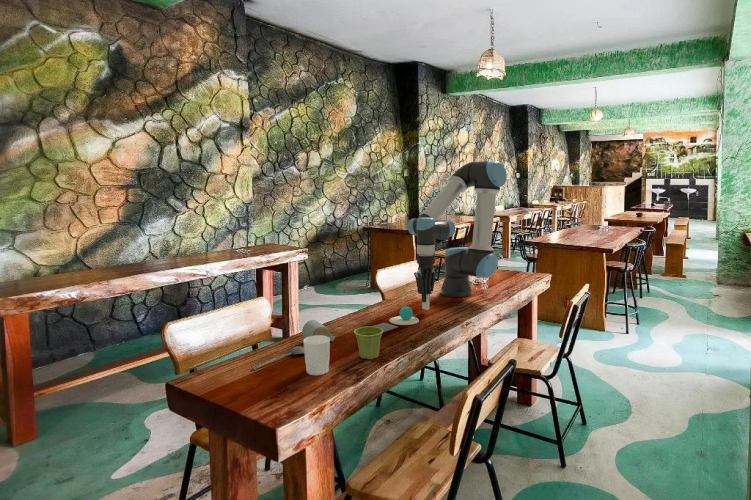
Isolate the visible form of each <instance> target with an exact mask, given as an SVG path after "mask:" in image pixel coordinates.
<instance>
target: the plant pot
mask: <svg viewBox="0 0 751 500" xmlns="http://www.w3.org/2000/svg"><path fill="white" fill-rule="evenodd" d="M353 333H354V335H355V338H356V341H357V346H358V352H359V353H358V354H359V357H360V358H361V359H363V358H364V360H365V359H367V360H375V359H377V358H378V357H379V356H380V345H381V338H382V336H383V335H382V334H383V333H384V332H383V330H382V329H381V328H378V327H372V326H362V327H361V326H360V327H358V328H355V329H354V330H353ZM374 358H375V359H374Z"/></svg>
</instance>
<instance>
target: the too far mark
mask: <svg viewBox="0 0 751 500" xmlns="http://www.w3.org/2000/svg"><path fill="white" fill-rule="evenodd" d="M371 327H378V328H381V329H382V330H383V333H386V332H389V331H392V330H394V329H397V328H399V325H398V326H397V325H395V324H392V323H387V322H381V323H378V324H375V325H372V326H371Z"/></svg>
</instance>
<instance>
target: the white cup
mask: <svg viewBox="0 0 751 500" xmlns="http://www.w3.org/2000/svg"><path fill="white" fill-rule="evenodd" d="M302 343H303V347H304V353H303V355H304V361H305V370H306V373H307V374H308V375H310V376H322V375H325V373H326V374H327V373H329V369H330V351H331V349H330V348H331V345H330V344H331V341H330V338H329V337H327V336H322V335H315V336H310V337H307V338H304V339H303V341H302Z"/></svg>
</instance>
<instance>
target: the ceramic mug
mask: <svg viewBox="0 0 751 500" xmlns="http://www.w3.org/2000/svg"><path fill="white" fill-rule="evenodd" d="M301 330H302V331H301V333H302V337H303V338H304V339H305V338H307V337H310V336H315V335H322V336H327V337H329V338H330V342H334V341H335V338H336V336H335V335H333V334H331V333H330V331H329V329H328V328H327V326H326V325H324V324H322V323H321V322H319V321H318V320H315V319H312V320H308V321H307V322H305V324H304V325H303V327H302V329H301Z"/></svg>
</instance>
